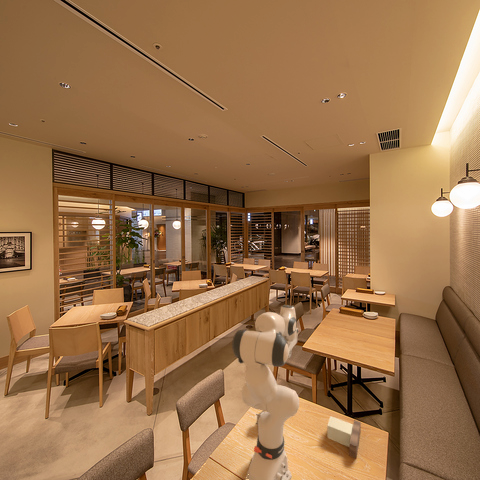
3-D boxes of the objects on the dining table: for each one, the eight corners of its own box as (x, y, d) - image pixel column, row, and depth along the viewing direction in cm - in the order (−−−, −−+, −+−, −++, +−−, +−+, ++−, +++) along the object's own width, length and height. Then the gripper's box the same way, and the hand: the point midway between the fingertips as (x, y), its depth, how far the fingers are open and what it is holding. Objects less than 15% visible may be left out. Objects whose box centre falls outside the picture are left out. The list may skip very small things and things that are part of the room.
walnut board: (356, 458, 115) (356, 446, 114) (349, 455, 116) (349, 443, 116) (360, 432, 128) (360, 422, 128) (354, 430, 130) (354, 419, 129)
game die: (262, 430, 136) (262, 408, 142) (274, 432, 131) (274, 409, 137) (251, 430, 131) (252, 407, 137) (264, 432, 126) (264, 409, 131)
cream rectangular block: (350, 448, 120) (350, 434, 120) (327, 438, 126) (327, 425, 125) (352, 437, 126) (352, 424, 126) (330, 428, 132) (330, 415, 131)
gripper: (286, 342, 129) (287, 367, 130) (299, 327, 146) (299, 349, 147) (275, 339, 132) (276, 364, 133) (289, 325, 149) (289, 347, 151)
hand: (288, 356), depth 140 cm, fingers closed
